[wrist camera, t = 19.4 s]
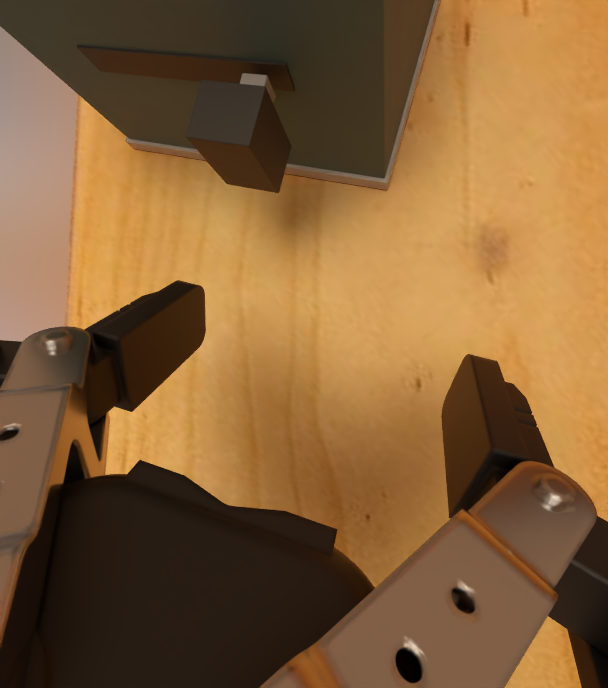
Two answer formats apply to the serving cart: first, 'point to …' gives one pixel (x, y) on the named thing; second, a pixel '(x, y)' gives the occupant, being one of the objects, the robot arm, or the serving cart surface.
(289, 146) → the slider
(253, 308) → the serving cart surface
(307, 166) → the toaster
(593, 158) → the serving cart surface
